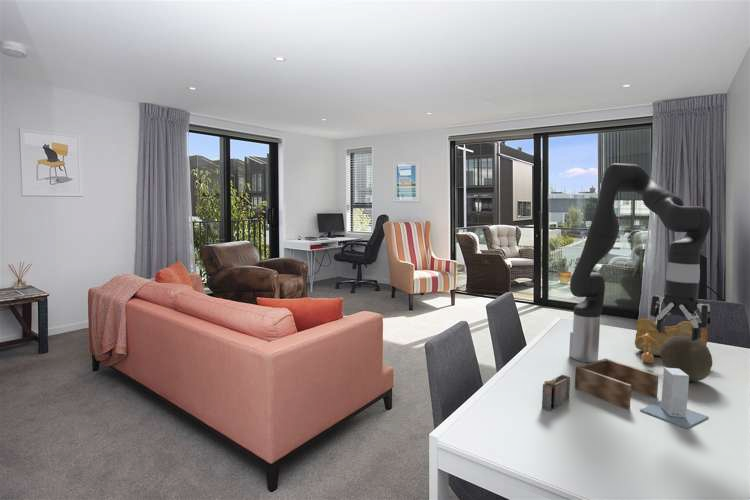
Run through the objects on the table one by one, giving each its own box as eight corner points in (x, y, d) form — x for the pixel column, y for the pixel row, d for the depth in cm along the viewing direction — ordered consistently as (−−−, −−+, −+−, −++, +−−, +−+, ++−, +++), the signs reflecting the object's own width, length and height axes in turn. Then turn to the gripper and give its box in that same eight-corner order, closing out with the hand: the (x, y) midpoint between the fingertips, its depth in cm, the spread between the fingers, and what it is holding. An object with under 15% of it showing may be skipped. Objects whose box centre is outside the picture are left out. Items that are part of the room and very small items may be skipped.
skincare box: (686, 418, 122) (690, 376, 121) (669, 416, 123) (672, 374, 122) (676, 408, 128) (679, 368, 127) (660, 407, 129) (663, 367, 128)
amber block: (708, 357, 175) (709, 319, 175) (706, 365, 162) (707, 324, 162) (640, 347, 190) (641, 312, 189) (633, 354, 177) (634, 316, 177)
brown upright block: (551, 413, 127) (553, 380, 126) (541, 409, 129) (543, 377, 128) (570, 402, 134) (572, 370, 133) (560, 398, 137) (562, 367, 136)
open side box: (574, 388, 143) (575, 367, 143) (604, 378, 151) (605, 358, 151) (627, 409, 129) (629, 385, 128) (657, 396, 137) (658, 374, 136)
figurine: (661, 364, 165) (663, 332, 163) (656, 368, 161) (658, 336, 159) (636, 358, 171) (638, 328, 169) (631, 362, 167) (633, 331, 165)
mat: (640, 410, 128) (640, 409, 128) (662, 401, 134) (662, 400, 134) (686, 428, 117) (686, 427, 117) (708, 417, 124) (708, 416, 123)
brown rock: (689, 372, 158) (692, 330, 156) (721, 388, 144) (725, 343, 142) (650, 372, 157) (653, 330, 156) (678, 388, 143) (682, 343, 142)
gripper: (648, 276, 127) (643, 332, 128) (705, 284, 114) (700, 346, 116) (662, 274, 130) (657, 328, 132) (719, 282, 118) (713, 341, 120)
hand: (677, 336), depth 124 cm, fingers open, 8 cm apart
